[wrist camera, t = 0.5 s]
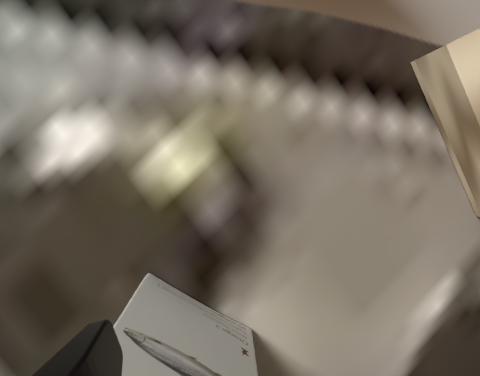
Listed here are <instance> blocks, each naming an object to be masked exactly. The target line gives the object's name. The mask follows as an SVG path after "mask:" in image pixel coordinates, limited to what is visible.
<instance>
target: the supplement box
mask: <svg viewBox="0 0 480 376" xmlns="http://www.w3.org/2000/svg"><path fill="white" fill-rule="evenodd" d="M113 328H114V330H115V333H116V335H117V338H118V340H119V343H120V346H121V348H122V353H123V365H122V376H258V371H257V363H256V356H255V348H254V343H253V335H252V330H251V329H250V328H248V327H246V326H244V325H242V324H240V323H238V322H236V321H234V320H232V319H230V318H228V317H226V316H224V315H222V314H220V313H218V312H216V311H214V310H212V309H211V308H209V307H207V306H205V305H203V304H202V303H200V302H198V301H196V300H195V299H193V298H191V297H189V296H188V295H186V294H184V293H182V292H181V291H179V290H177V289H176V288H174V287H172V286H170V285H169V284H167V283H165V282H164V281H162V280H161V279H159V278H157V277H156V276H154V275H153V274H151V273H148V274H147V275H146V276H145V277H144V279H143V280H142V282H141V283H140V285H139V287H138V288H137V290H136V291H135V293H134V295H133V296H132V298H131V299H130V301H129V303H128V304H127V306H126V307H125V309H124V311H123V312H122V314H121V315H120V317H119V319H118V320H117V322H116V323H115V325H114V326H113Z"/></svg>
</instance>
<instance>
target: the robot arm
mask: <svg viewBox="0 0 480 376" xmlns="http://www.w3.org/2000/svg"><path fill="white" fill-rule="evenodd" d="M122 365H123V353H122V348H121V346H120V343H119V340H118V338H117V335H116V333H115V330H114V328H113V325H112V323H111V322H110V321H109V320H102V321H97V322H93V323H90V324H88V325H87V326H86V327H85V328H84V329H83V330H82V331H81V332H80V333H78V334H77V335H76V336H75V337H74V338H73V339H72V340H71V341H70V342H68V343H67V344H66V345H65V346H64V347H63V348H62V349H61V350H60V351H59V352H57V353H56V354H55V355H54V356H53V357H52V358H51V359H50V360H49V361H47V362H46V363H45V364H44V365H43V366H42V367H41V368H40V369H39V370H38V371H36V372H35V373H34V374H33V375H32V376H122Z"/></svg>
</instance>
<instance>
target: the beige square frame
mask: <svg viewBox="0 0 480 376" xmlns="http://www.w3.org/2000/svg"><path fill="white" fill-rule="evenodd" d="M411 65H412V67H413V70H414V72H415V74H416V77H417V79H418V81H419V84H420V86H421V88H422V91H423V93H424V95H425V98H426V100H427V102H428V105H429V107H430V109H431V112H432V114H433V116H434V119H435V121H436V123H437V126H438V128H439V130H440V133H441V135H442V137H443V140H444V142H445V144H446V147H447V149H448V151H449V154H450V156H451V158H452V161H453V163H454V165H455V167H456V170H457V172H458V174H459V177H460V179H461V181H462V184H463V186H464V188H465V191H466V193H467V195H468V198H469V200H470V202H471V205H472V207H473V209H474V212H475V214H476V216H478V217H480V29H478V30H476V31H473V32H471V33H470V34H467V35H465V36H464V37H461V38H459V39H457V40H455V41H453V42H451V43H449V44H447V45H445V46H443V47H441V48H439V49H437V50H435V51H433V52H431V53H429V54H427V55H425V56H423V57H421V58H419V59H417V60H415V61H413V62H411Z"/></svg>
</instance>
